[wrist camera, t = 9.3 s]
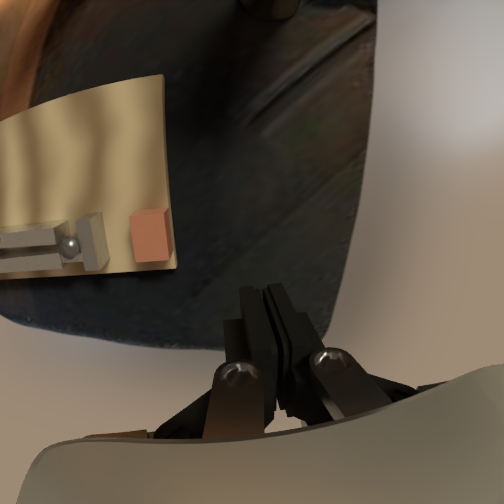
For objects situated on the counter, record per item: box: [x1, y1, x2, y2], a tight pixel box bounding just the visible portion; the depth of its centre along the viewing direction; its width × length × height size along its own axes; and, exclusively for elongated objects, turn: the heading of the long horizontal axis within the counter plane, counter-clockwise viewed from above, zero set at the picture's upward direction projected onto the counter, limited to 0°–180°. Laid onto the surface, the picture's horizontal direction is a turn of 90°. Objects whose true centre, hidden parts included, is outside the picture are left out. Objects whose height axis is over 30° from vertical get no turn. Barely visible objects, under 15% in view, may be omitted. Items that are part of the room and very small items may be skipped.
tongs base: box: [0, 211, 110, 273], centre depth 21 cm, size 19×5×4 cm, turn 92°
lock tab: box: [129, 207, 173, 263], centre depth 23 cm, size 3×4×2 cm
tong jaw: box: [0, 220, 70, 248], centre depth 21 cm, size 15×2×3 cm, turn 90°
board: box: [0, 74, 177, 280], centre depth 22 cm, size 30×18×1 cm, turn 92°
